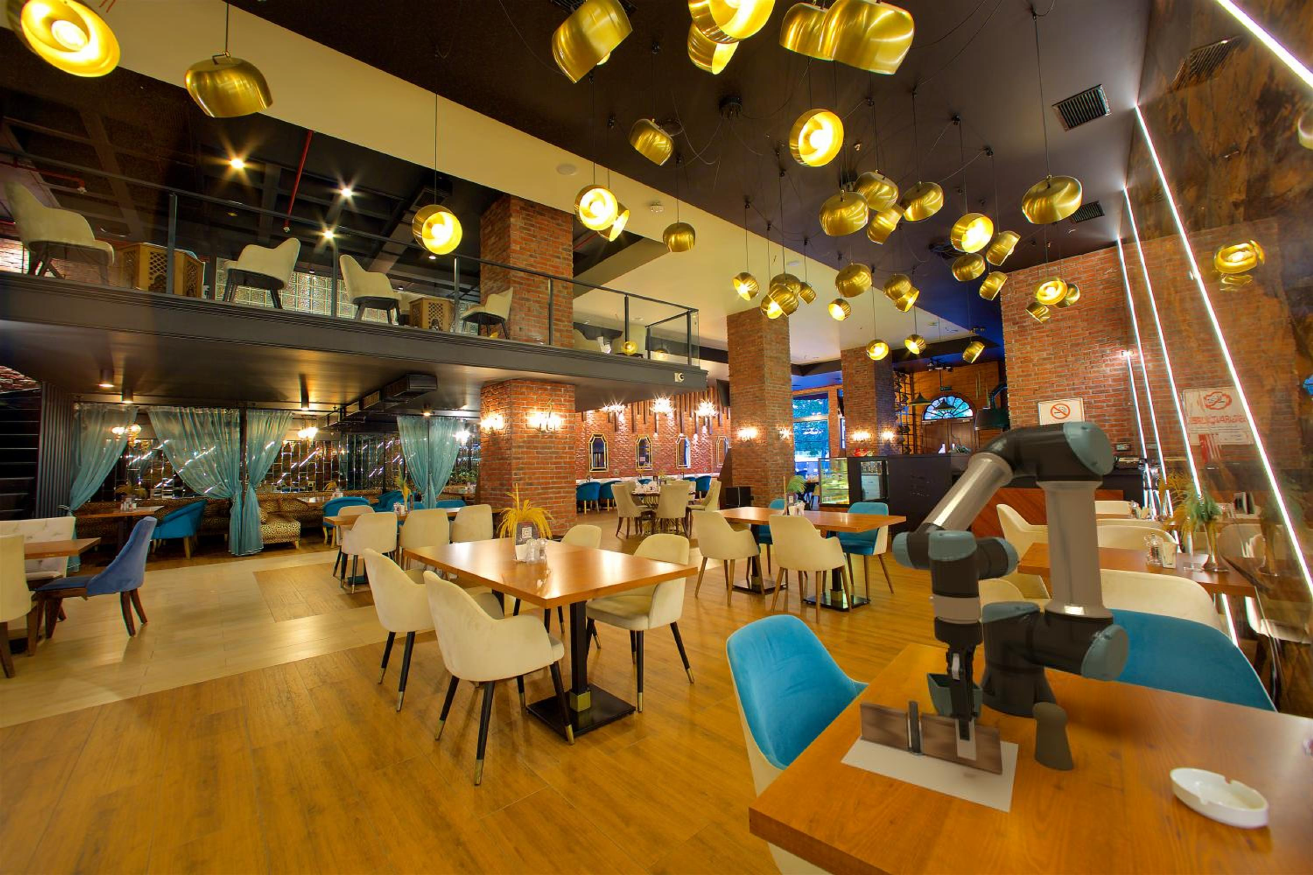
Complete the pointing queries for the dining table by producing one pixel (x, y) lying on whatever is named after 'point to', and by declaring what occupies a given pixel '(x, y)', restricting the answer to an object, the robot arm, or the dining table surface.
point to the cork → (1052, 737)
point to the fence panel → (944, 743)
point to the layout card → (939, 771)
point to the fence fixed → (891, 725)
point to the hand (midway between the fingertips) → (967, 756)
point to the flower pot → (942, 696)
